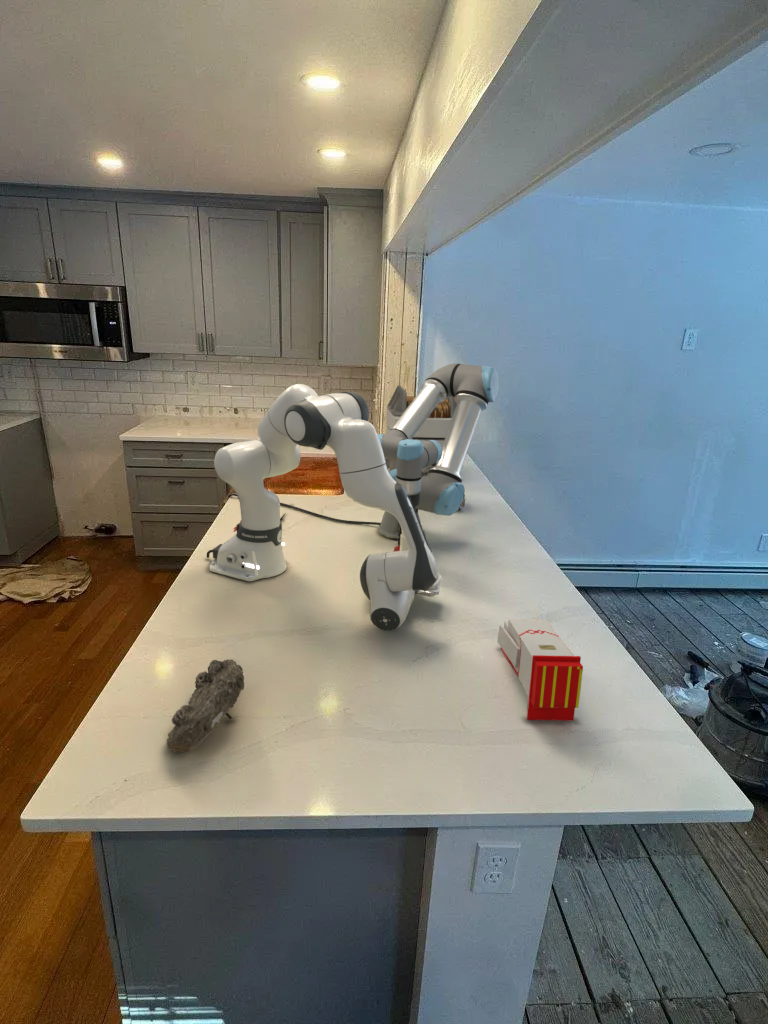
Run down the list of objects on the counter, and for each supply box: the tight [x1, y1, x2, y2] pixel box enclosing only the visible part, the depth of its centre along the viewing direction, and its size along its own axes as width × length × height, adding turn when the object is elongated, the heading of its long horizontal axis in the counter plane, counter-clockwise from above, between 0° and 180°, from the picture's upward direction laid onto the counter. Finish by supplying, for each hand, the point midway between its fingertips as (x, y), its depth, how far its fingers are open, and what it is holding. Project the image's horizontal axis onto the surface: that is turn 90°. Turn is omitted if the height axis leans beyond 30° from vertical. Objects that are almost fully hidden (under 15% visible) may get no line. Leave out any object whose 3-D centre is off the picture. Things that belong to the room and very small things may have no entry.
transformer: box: [385, 384, 462, 475], centre depth 268 cm, size 34×33×41 cm
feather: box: [280, 513, 286, 523], centre depth 210 cm, size 2×28×2 cm
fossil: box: [166, 658, 245, 754], centre depth 106 cm, size 22×10×15 cm
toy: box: [497, 618, 584, 722], centre depth 122 cm, size 12×13×30 cm
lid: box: [393, 545, 400, 552], centre depth 177 cm, size 6×6×2 cm
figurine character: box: [458, 493, 466, 511], centre depth 229 cm, size 7×8×15 cm
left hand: (408, 568), depth 160 cm, fingers closed on jar, 5 cm apart
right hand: (403, 561), depth 178 cm, fingers closed on lid, 6 cm apart
